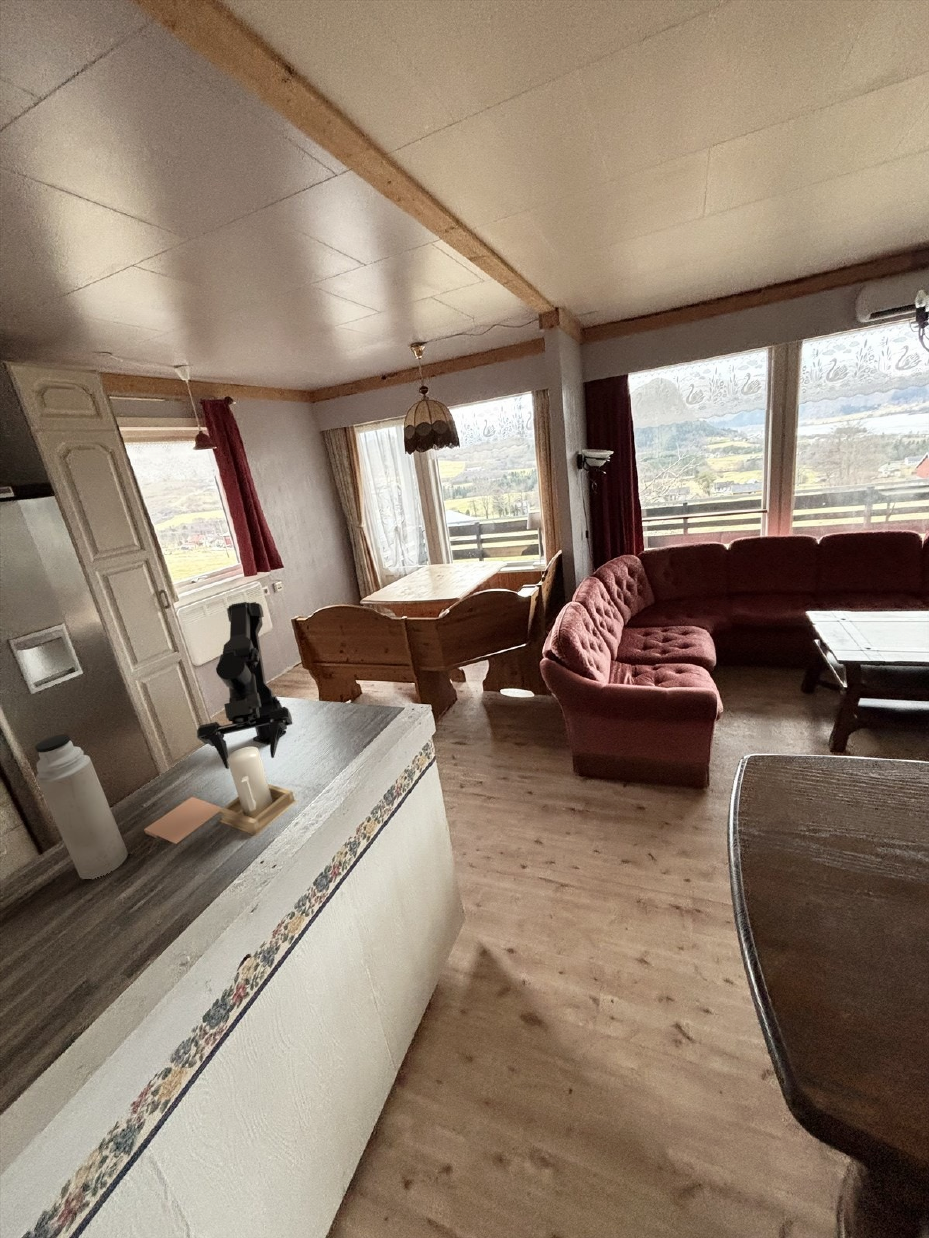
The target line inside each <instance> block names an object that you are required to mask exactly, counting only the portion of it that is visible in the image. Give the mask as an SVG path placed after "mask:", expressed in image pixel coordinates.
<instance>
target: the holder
mask: <svg viewBox="0 0 929 1238" xmlns="http://www.w3.org/2000/svg"><path fill="white" fill-rule="evenodd" d="M268 786H269V790H270V793H271V797H272V800H273V804H272V805H271V806H269V807H268V808H267V809H266V810H264V811H263V812H262V813H261V814H259V815H258V816H257V817H256V818H255V819H253V818H250V817H248V816H245V815H244V813H243V810H242V807H241V803H240V800H239V797H238V796H237V797H235V798H234V800H233V799H232V801H231V802H230V803H228V804H227V805H225V806H224V807H222V808H223V809H221V810H220V812H219V813H220V818H221V820H220V821H219V822H220V823H223V824H226V825H227V826H230V827H233V828H235V829H238V830H240V831H243V832H245V833H249V834H251V835H253V836H258V835H259V834H260V833H261V832H262V831H264V830H265V829H266V828H267V827H269V825H270V824H271V823H273V822H274V821H275V820H276V819H278V818H279V816H282V815H283V813H284V812H286V811H287V810H289V808H291V807H292V806H293V805H294V804H295V803H296V802H297V801H298V799H295V797H294V793H293V791H292V790H289V789H286V788H283V787H279V786H276V785H273V784H270V783H268Z"/></svg>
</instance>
